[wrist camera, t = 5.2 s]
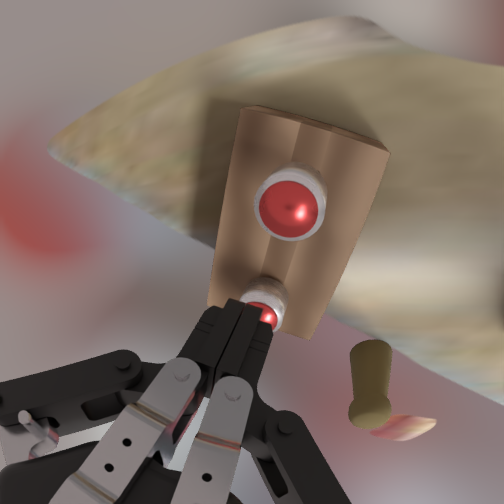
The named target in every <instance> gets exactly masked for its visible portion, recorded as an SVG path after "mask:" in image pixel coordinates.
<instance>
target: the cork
mask: <svg viewBox="0 0 504 504" xmlns="http://www.w3.org/2000/svg"><path fill="white" fill-rule="evenodd" d="M391 361H392V349H391V347H390V346H389V344H388V343H386V342H384V341H380V340H367V341H363V342H360V343H359V344H357V345H355V346H354V347H353V348H352V350H351V352H350V363H351V373H352V383H353V395H354V400H353V401H352V403H351V404H350V407H349V412H348V416H349V420H350V421H351V423H352V424H353V425H354V426H356V427H359V428H363V429H372V428H376V427H379V426H381V425H383V424H385V423H386V422H387V421H388V419H389V418H390V414H391V404H390V401H389V399H388V398H387V394H388V386H389V379H390V370H391Z"/></svg>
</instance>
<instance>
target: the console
mask: <svg viewBox="0 0 504 504" xmlns="http://www.w3.org/2000/svg"><path fill="white" fill-rule="evenodd" d="M390 154H391V153H390V152H389V151H388V149H387V148H386V147H385V146H384V145H383V144H382V143H381V142H378V141H376V140H373V139H370V138H367V137H365V136H362V135H359V134H356V133H353V132H350V131H347V130H344V129H341V128H338V127H335V126H332V125H329V124H326V123H322V122H319V121H316V120H312V119H309V118H305V117H302V116H298V115H294V114H291V113H287V112H283V111H279V110H275V109H271V108H266V107H262V106H258V105H256V106H250V107H244V108H241V110H240V115H239V120H238V125H237V130H236V135H235V140H234V145H233V150H232V156H231V161H230V166H229V172H228V177H227V183H226V188H225V194H224V200H223V206H222V211H221V217H220V223H219V229H218V235H217V242H216V248H215V254H214V261H213V268H212V274H211V281H210V287H209V294H208V301H207V305H208V306H210V307H212V306H213V305H215V306H218V307H220V308H224V306H225V304H226V302H227V300H228V299H229V298H232V299H235V300H238V301H239V300H240V298H241V296H242V294H243V292H244V290H245V288H246V286H247V284H248V283H249V282H250V281H251V280H253V279H255V278H259V277H267V278H272V279H274V280H276V281H278V282H280V283H281V284H282V285H283V286H284V287H285V288H286V290H287V292H288V296H289V300H288V304H287V307H286V311H285V314H284V318H283V321H282V325H281V327H280V328H279V329H278V330H279V331H282V332H285V333H288V334H291V335H294V336H297V337H300V338H304V339H307V340H310V339H311V337H312V335H313V333H314V331H315V330H316V328H317V326H318V324H319V321H320V320H321V318H322V316H323V314H324V312H325V310H326V308H327V306H328V304H329V301H330V299H331V297H332V295H333V293H334V291H335V289H336V287H337V285H338V283H339V280H340V278H341V276H342V274H343V272H344V269H345V267H346V265H347V263H348V261H349V258H350V256H351V254H352V251H353V249H354V247H355V245H356V242H357V240H358V237H359V235H360V233H361V230H362V228H363V225H364V223H365V221H366V218H367V216H368V213H369V211H370V208H371V206H372V203H373V200H374V198H375V195H376V193H377V190H378V187H379V185H380V182H381V179H382V176H383V174H384V171H385V168H386V165H387V162H388V159H389V157H390ZM289 162H300V163H304V164H307V165H309V166H311V167H313V168H314V169H316V170H317V171H319V173H320V174H321V176H322V177H323V179H324V181H325V183H326V186H327V201H326V209H325V216H324V220H323V222H322V224H321V226H320V228H319V229H318V230H317V231H316V232H315V233H314V234H313V235H311V236H310V237H308V238H306V239H303V240H299V241H285V240H281V239H278V238H276V237H274V236H272V235H270V234H269V233H268V232H266V231H265V230H264V229H263V228H262V226H261V225H260V224H259V222H258V220H257V218H256V215H255V212H254V198H255V195H256V193H257V190H258V189H259V187H260V186H261V185H262V184H263V182H264V181H265V180H266V179H267V178H268V176H269V175H270V174H271V173H272V172H273V171H274V170H275V169H276V168H277V167H279V166H280V165H283V164H285V163H289Z"/></svg>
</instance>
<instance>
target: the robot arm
mask: <svg viewBox="0 0 504 504" xmlns="http://www.w3.org/2000/svg"><path fill="white" fill-rule="evenodd" d="M262 312H263V308H260V307H257V306H254V305H250V304H246V303H244V302H241V301H238V300H235V299H232V298H229V299H228V300H227V302H226V304H225V306H224V308H220V307H218V306H215V305H213V306H212V307H210V308H209V309H207V310H206V311H205V312H204V313H203V315H202V317H201V318H200V320H199V322H198V323H197V325H196V326H195V329H194V330H193V331H192V333H191V335H190V336H189V338H188V340H187V341H186V343H185V345H184V346H183V348H182V350H181V351H180V353H179V354H178V356H177V357H176V358H174V359H171V360H170V361H168V362H167V363H162V364H155V363H148V362H141V360H140V358H139V357H138V356H137V354H135V353H134V352H132V351H129V350H117V351H114V352H111V353H107V354H104V355H101V356H97V357H94V358H91V359H88V360H84V361H80V362H77V363H73V364H70V365H66V366H63V367H59V368H56V369H52V370H48V371H44V372H40V373H37V374H33V375H29V376H25V377H21V378H17V379H13V380H9V381H5V382H0V440H1V445H2V449H3V453H4V457H5V461H6V465H7V466H6V467H5V468H3V469H2V470H1V472H0V504H243V503H242V502H241V501H240V500H239V499H238V498H237V497H236V496H235V495H234V494H232V493H231V492H230V488H231V484H232V480H233V477H234V473H235V470H236V466H237V462H238V458H239V455H240V450H241V447H243V448H244V449H246V450H247V451H249V452H250V453H251V455H252V458H253V460H254V462H255V464H256V466H257V468H258V470H259V472H260V475H261V477H262V479H263V481H264V483H265V485H266V487H267V489H268V491H269V493H270V495H271V497H272V499H273V501H274V503H275V504H351V502H350V500H349V499H348V497H347V496H346V494H345V492H344V490H343V489H342V487H341V485H340V484H339V482H338V480H337V479H336V477H335V475H334V474H333V472H332V470H331V469H330V467H329V465H328V463H327V462H326V460H325V458H324V457H323V455H322V453H321V451H320V450H319V448H318V446H317V445H316V443H315V441H314V439H313V437H312V436H311V434H310V432H309V430H308V429H307V427H306V425H305V423H304V421H303V420H302V419H301V417H300V416H298V415H297V414H295V413H294V412H291V411H286V410H283V411H276V410H274V409H273V408H271V407H270V406H268V405H267V404H266V403H264V402H263V401H262V399H261V398H260V397H259V395H258V392H257V383H258V380H259V377H260V374H261V371H262V368H263V365H264V362H265V359H266V356H267V353H268V350H269V347H270V343H271V340H272V337H273V330H272V325H271V324H269V323H266V322H263V321H260V319H261V316H262ZM204 397H207V398H209V399H210V400H209V403H208V406H207V408H206V411H205V414H204V417H203V420H202V423H201V426H200V428H199V431H198V433H197V434H196V436H195V438H194V441H193V443H192V446H191V449H190V452H189V454H188V457H187V460H186V463H185V465H184V468H183V471H182V472H180V471H175V470H169V469H166V468H167V466H168V465H169V463H170V461H171V460H172V458H173V455H174V452H175V449H176V447H177V445H178V443H179V442H180V440H181V438H182V437H183V435H184V433H185V432H186V430H187V428H188V427H189V425H190V423H191V422H192V420H193V418H194V417H195V415H196V413H197V411H198V408H199V406H200V404H201V402H202V400H203V398H204ZM114 420H115V422H114V423H113V424H112V425H111V427H110V428H109V429H108V431H107V432H106V433H105V435H104V436H103V437H102V439H101V440H100V441H92V442H88V443H84V444H81V445H78V446H75V447H72V448H69V449H66V450H62V451H59V452H56V453H52V454H49V455H45V453H47V452H50V451H52V450H54V449H55V448H56V447H57V444H58V442H59V437H61V436H64V435H68V434H71V433H75V432H79V431H82V430H86V429H89V428H92V427H96V426H99V425H102V424H105V423H108V422H111V421H114ZM44 455H45V456H44Z"/></svg>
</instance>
